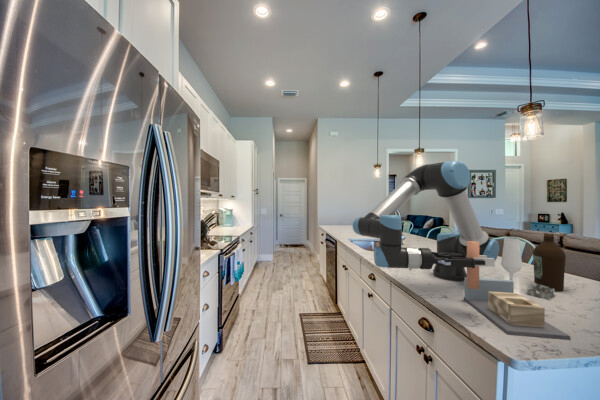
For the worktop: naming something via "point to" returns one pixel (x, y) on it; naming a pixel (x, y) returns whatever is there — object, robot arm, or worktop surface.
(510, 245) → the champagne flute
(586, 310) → the worktop surface
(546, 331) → the mat
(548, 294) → the egg carton
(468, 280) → the dowel
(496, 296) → the socket block
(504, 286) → the wall
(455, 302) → the worktop surface
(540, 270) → the olive oil
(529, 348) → the worktop surface
